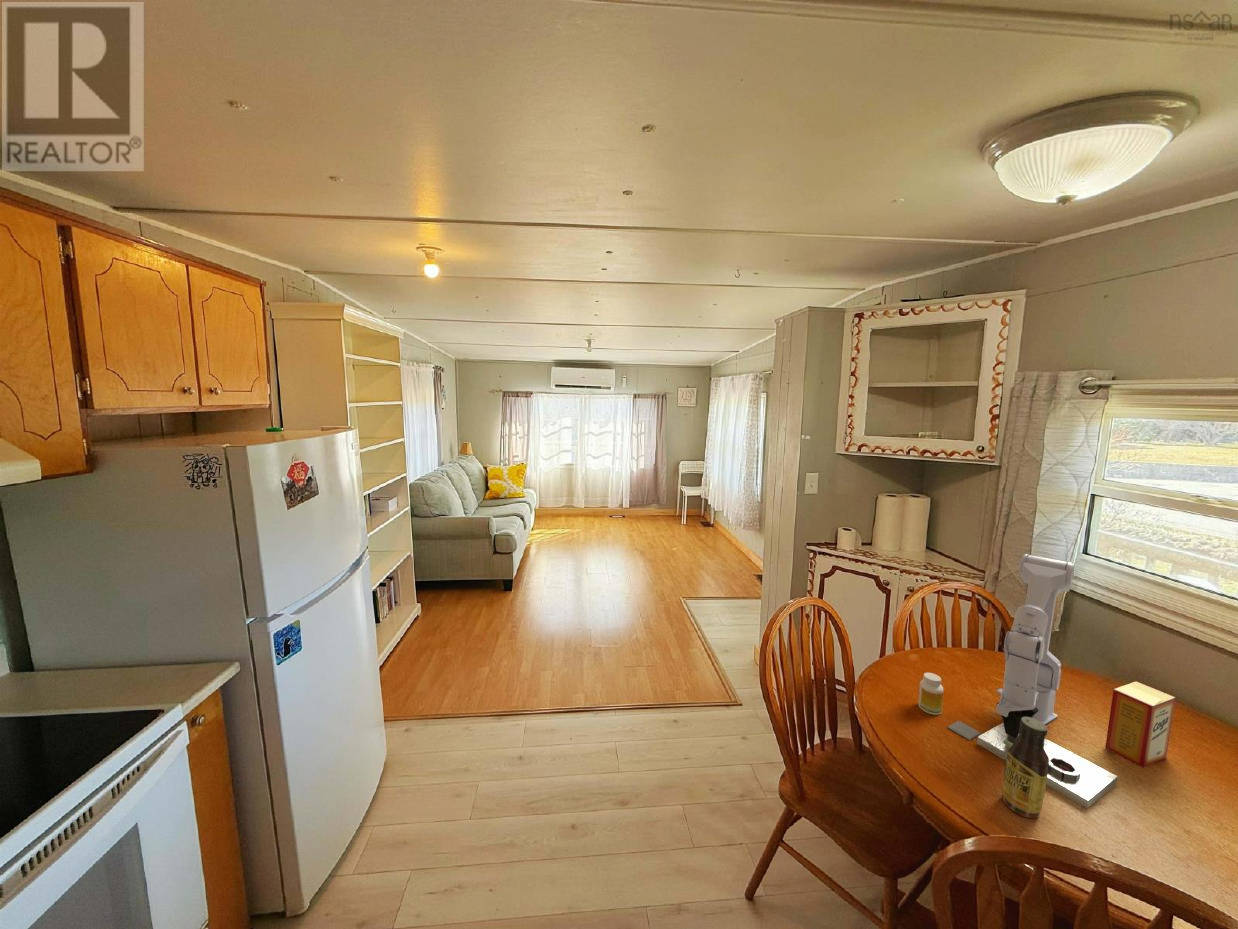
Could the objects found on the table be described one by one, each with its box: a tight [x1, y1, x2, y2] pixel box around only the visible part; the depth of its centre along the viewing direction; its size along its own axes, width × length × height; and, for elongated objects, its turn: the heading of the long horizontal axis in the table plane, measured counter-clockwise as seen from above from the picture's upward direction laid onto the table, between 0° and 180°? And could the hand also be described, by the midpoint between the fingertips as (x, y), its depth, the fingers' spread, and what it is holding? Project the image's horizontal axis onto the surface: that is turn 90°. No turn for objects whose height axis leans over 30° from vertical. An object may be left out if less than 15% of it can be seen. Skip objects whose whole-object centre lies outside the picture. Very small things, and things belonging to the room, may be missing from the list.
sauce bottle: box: [1001, 717, 1049, 819], centre depth 92 cm, size 7×6×20 cm
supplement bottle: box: [917, 672, 944, 716], centre depth 123 cm, size 5×5×10 cm
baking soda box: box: [1105, 681, 1177, 769], centre depth 106 cm, size 10×6×16 cm
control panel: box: [976, 722, 1118, 809], centre depth 104 cm, size 14×20×3 cm
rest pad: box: [947, 720, 982, 741], centre depth 115 cm, size 5×5×1 cm
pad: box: [1005, 738, 1013, 746], centre depth 108 cm, size 2×2×2 cm
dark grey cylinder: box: [1007, 711, 1021, 743], centre depth 107 cm, size 2×2×8 cm
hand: (1014, 733), depth 107 cm, fingers closed on dark grey cylinder, 2 cm apart
